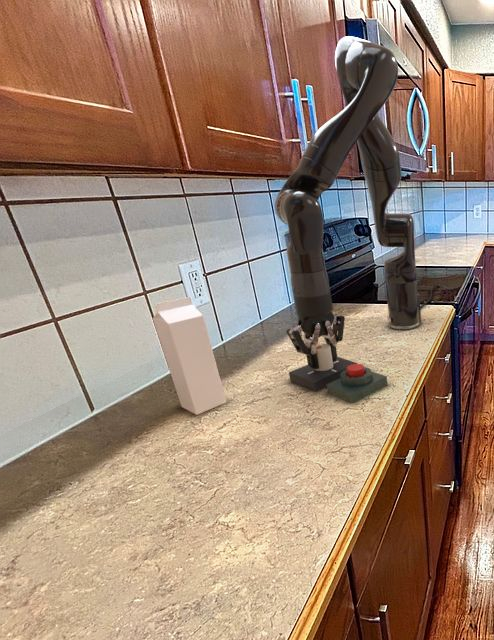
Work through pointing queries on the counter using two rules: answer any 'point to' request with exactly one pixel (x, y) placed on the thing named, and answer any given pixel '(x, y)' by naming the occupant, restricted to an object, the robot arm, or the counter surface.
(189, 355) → the milk
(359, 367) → the button
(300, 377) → the control panel
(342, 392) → the switch block
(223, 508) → the counter surface
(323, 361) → the power knob
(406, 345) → the counter surface
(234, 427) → the counter surface
